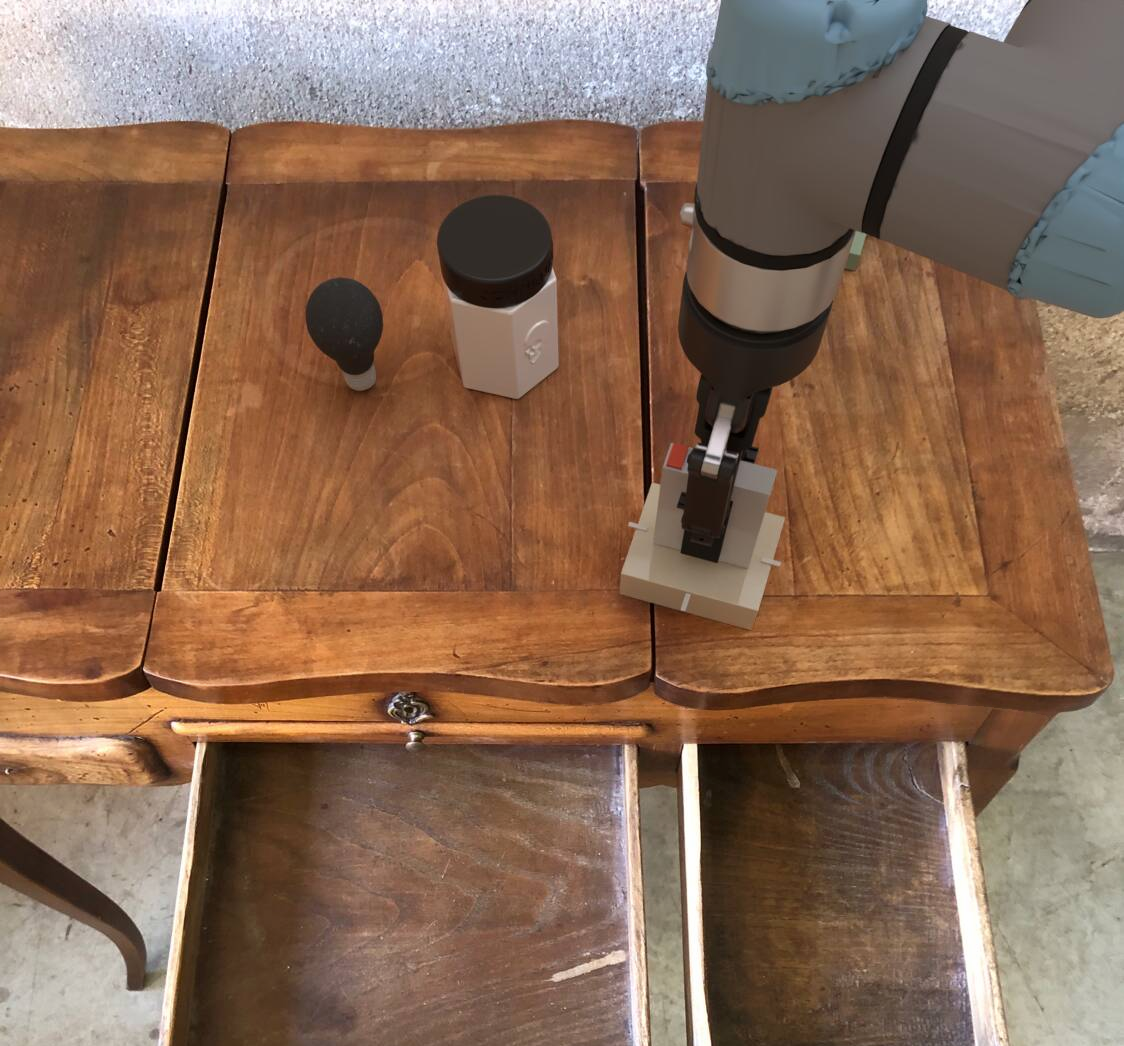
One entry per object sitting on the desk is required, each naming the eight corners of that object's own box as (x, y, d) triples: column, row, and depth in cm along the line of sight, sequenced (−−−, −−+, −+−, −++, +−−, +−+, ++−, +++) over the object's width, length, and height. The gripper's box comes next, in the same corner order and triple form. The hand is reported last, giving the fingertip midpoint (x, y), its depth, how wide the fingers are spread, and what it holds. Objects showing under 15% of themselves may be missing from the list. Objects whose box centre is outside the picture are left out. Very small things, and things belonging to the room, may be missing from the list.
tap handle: (755, 545, 74) (778, 467, 66) (748, 569, 74) (770, 493, 65) (660, 520, 75) (671, 439, 67) (652, 543, 75) (662, 464, 66)
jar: (499, 419, 82) (487, 304, 71) (430, 359, 84) (407, 240, 73) (580, 354, 84) (580, 233, 73) (511, 298, 87) (501, 172, 75)
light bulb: (313, 386, 84) (280, 291, 74) (364, 345, 85) (338, 246, 76) (361, 425, 82) (333, 334, 73) (412, 383, 84) (391, 287, 74)
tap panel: (790, 523, 79) (799, 499, 76) (754, 652, 75) (761, 632, 72) (647, 486, 80) (650, 461, 77) (604, 610, 76) (605, 589, 73)
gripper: (725, 156, 55) (682, 439, 77) (644, 380, 50) (623, 614, 72) (866, 187, 54) (782, 465, 76) (798, 419, 49) (729, 644, 71)
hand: (705, 537), depth 74 cm, fingers closed on tap handle, 2 cm apart
